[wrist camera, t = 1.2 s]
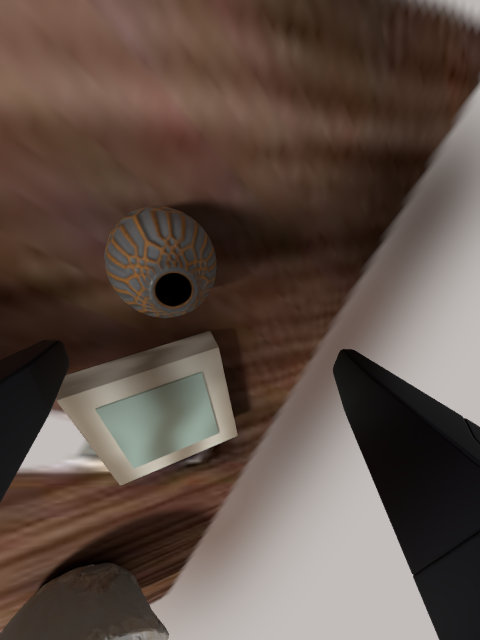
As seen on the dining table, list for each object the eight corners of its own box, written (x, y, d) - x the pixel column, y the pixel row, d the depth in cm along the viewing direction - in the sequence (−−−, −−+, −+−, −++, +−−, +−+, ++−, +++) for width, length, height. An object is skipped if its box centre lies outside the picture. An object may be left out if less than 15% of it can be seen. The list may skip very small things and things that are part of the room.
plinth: (121, 459, 28) (120, 487, 26) (65, 375, 21) (55, 402, 19) (229, 415, 31) (238, 437, 29) (209, 330, 25) (219, 348, 22)
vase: (218, 238, 21) (263, 269, 14) (174, 305, 22) (194, 365, 15) (139, 179, 17) (144, 178, 10) (91, 263, 18) (65, 317, 11)
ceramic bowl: (-33, 647, 34) (-84, 793, 26) (-14, 550, 27) (-76, 706, 19) (136, 597, 45) (137, 689, 37) (180, 518, 38) (193, 610, 30)
